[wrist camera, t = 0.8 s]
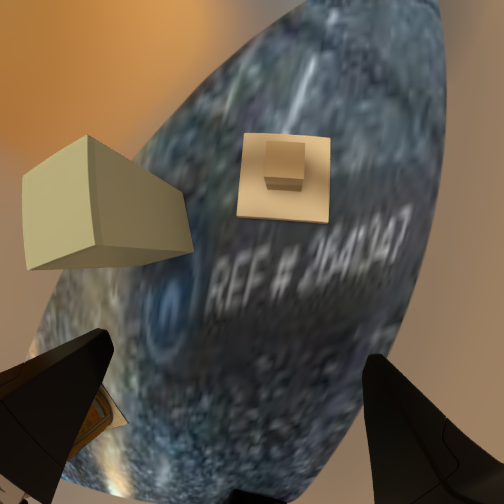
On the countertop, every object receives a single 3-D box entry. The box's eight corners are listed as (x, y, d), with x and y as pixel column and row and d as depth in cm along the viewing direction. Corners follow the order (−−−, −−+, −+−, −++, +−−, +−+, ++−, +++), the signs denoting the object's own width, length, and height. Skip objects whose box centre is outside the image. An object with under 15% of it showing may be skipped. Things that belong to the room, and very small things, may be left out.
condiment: (93, 432, 24) (34, 479, 12) (56, 374, 25) (-14, 405, 13) (129, 422, 24) (65, 482, 12) (87, 356, 24) (5, 392, 12)
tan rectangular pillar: (194, 252, 23) (95, 244, 10) (141, 265, 23) (27, 270, 11) (182, 192, 23) (87, 134, 10) (131, 209, 24) (22, 176, 11)
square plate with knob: (326, 224, 22) (336, 215, 17) (238, 217, 22) (227, 207, 18) (328, 142, 22) (336, 118, 17) (246, 137, 23) (237, 113, 18)
